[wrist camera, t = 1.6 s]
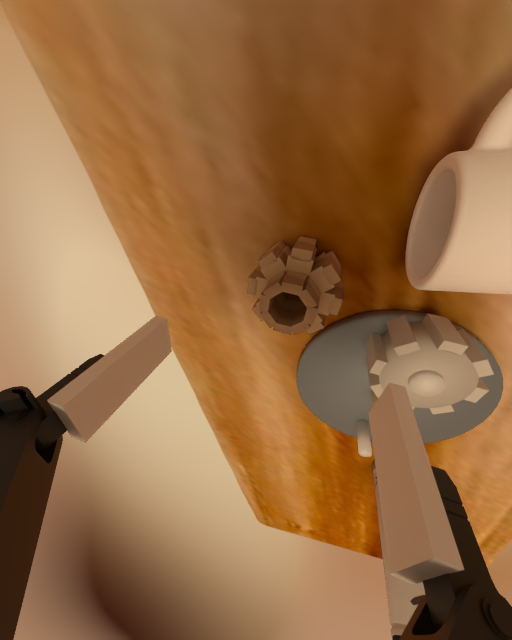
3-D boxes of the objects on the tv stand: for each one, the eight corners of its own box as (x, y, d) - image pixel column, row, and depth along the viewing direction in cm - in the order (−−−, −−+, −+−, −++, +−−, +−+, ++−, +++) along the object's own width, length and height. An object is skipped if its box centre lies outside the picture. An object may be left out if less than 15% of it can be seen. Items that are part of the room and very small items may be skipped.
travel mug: (363, 457, 36) (381, 687, 20) (408, 454, 32) (476, 730, 16) (380, 479, 38) (411, 706, 22) (426, 478, 34) (503, 750, 18)
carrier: (323, 282, 23) (318, 313, 18) (561, 336, 19) (637, 393, 14) (285, 404, 35) (276, 442, 30) (427, 451, 31) (443, 504, 26)
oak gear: (264, 229, 22) (241, 247, 16) (355, 246, 20) (360, 272, 15) (255, 303, 26) (235, 336, 21) (327, 322, 25) (324, 362, 20)
